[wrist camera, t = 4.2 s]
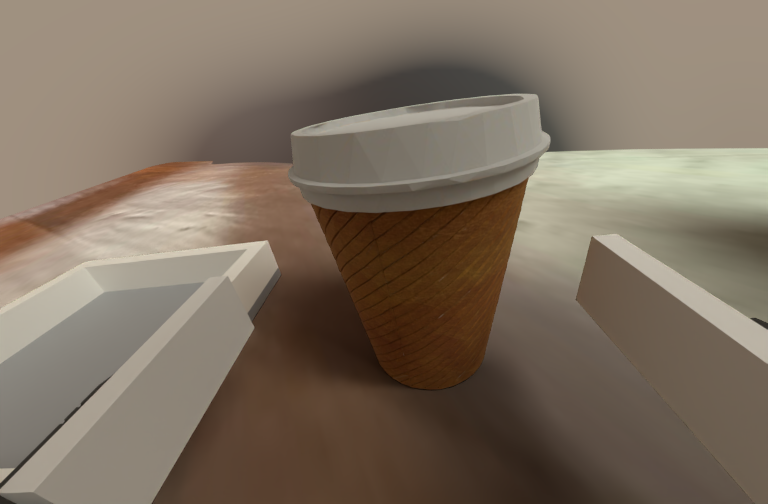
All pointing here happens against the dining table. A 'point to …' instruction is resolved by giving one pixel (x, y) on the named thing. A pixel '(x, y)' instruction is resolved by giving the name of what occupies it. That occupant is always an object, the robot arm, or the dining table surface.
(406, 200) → the disposable coffee cup
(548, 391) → the dining table surface
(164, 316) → the square well
